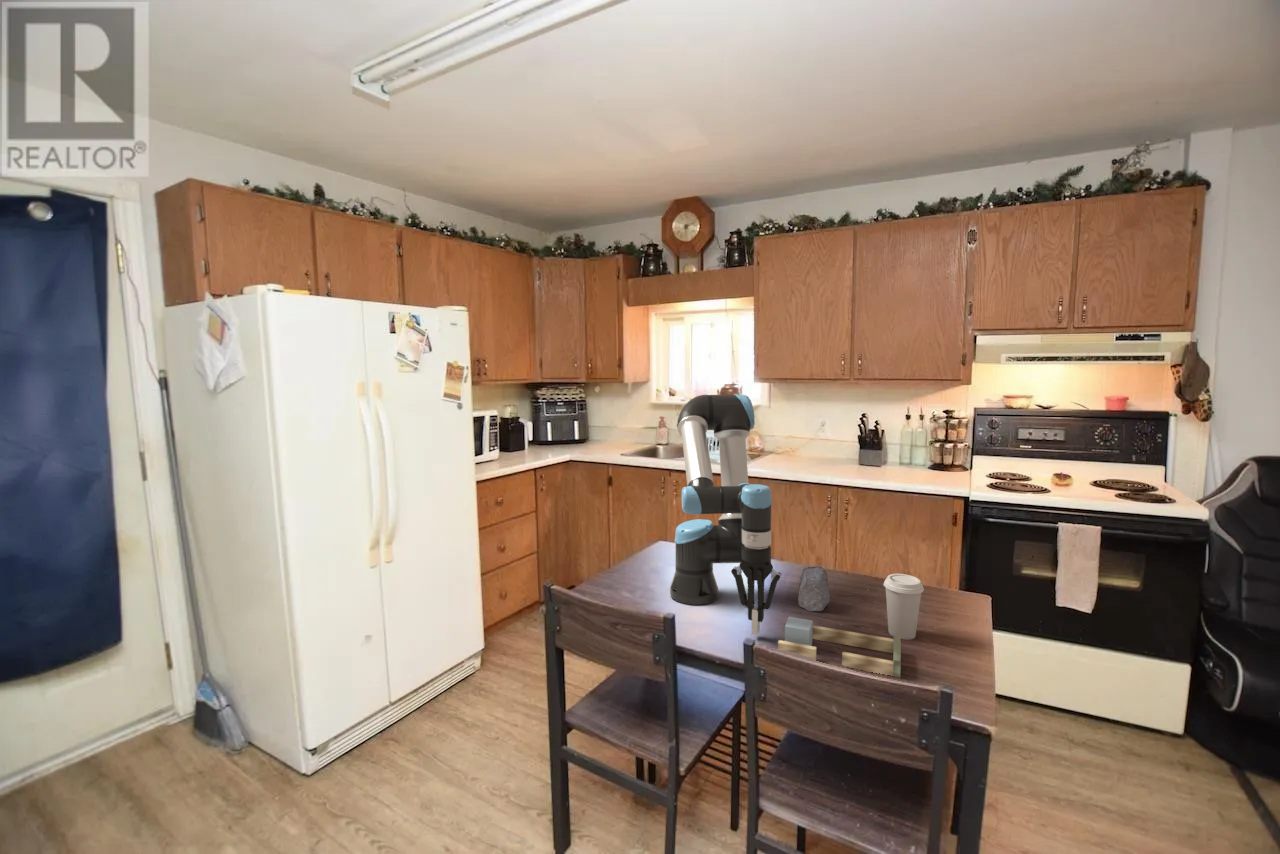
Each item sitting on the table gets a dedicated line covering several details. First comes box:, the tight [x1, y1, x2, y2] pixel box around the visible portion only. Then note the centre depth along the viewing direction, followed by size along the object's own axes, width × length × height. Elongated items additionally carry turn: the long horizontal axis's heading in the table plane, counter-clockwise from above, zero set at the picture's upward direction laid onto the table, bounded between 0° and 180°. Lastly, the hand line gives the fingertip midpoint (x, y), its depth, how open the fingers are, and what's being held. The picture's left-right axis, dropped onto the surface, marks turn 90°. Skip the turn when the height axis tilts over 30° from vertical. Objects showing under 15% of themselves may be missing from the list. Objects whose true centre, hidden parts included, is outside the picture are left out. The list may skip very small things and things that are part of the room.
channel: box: [777, 624, 902, 678], centre depth 138 cm, size 28×13×4 cm, turn 65°
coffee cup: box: [883, 573, 925, 641], centre depth 147 cm, size 10×10×15 cm
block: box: [784, 616, 814, 646], centre depth 142 cm, size 6×6×6 cm
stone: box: [797, 566, 831, 612], centre depth 166 cm, size 12×10×10 cm
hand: (755, 632), depth 147 cm, fingers closed
